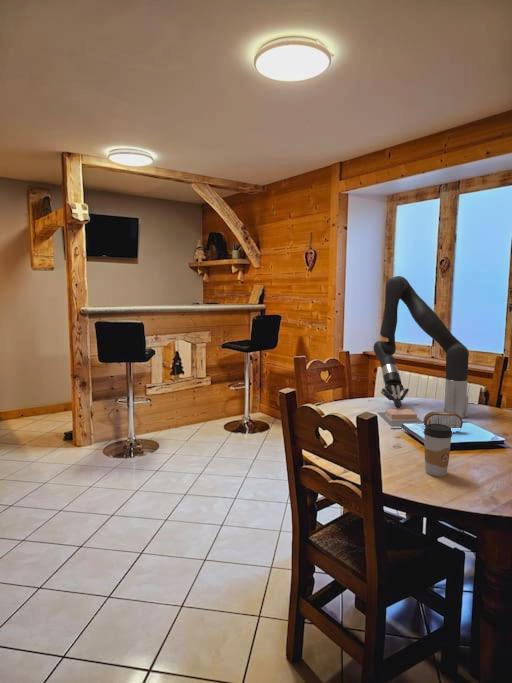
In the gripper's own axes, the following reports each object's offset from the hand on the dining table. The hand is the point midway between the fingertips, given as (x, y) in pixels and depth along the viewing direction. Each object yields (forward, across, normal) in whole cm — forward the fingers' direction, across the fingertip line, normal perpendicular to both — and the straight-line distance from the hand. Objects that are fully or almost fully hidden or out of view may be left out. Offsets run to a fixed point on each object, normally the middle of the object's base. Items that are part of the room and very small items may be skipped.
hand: (398, 407), depth 200 cm
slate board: (+6, 0, +1) cm, 7 cm away
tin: (+17, +12, -9) cm, 23 cm away
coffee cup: (+46, -8, -38) cm, 61 cm away
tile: (+1, 0, +3) cm, 3 cm away
